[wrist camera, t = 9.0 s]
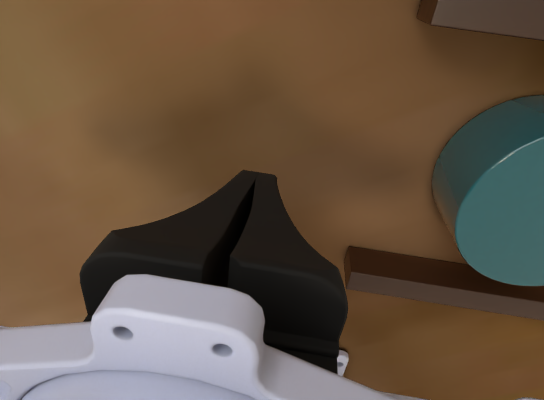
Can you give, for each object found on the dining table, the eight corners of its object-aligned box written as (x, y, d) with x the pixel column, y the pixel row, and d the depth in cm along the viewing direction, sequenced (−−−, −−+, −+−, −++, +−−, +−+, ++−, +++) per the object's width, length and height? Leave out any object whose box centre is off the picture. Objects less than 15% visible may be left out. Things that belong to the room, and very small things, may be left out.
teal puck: (551, 245, 18) (597, 299, 15) (410, 222, 18) (428, 271, 15) (648, 108, 14) (734, 144, 11) (468, 82, 14) (506, 111, 11)
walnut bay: (586, 300, 20) (611, 331, 18) (343, 262, 20) (345, 289, 18) (817, 32, 12) (895, 41, 11) (426, -20, 13) (443, -18, 11)
